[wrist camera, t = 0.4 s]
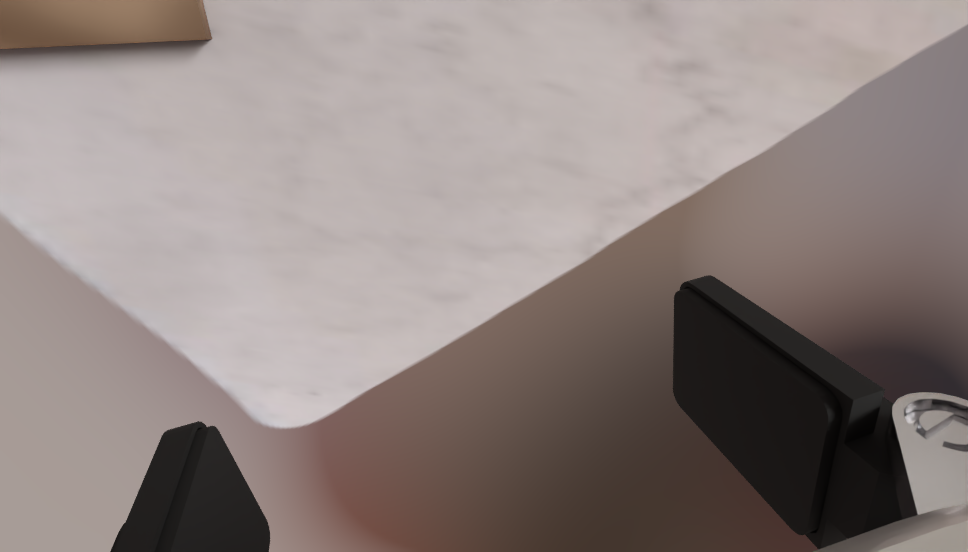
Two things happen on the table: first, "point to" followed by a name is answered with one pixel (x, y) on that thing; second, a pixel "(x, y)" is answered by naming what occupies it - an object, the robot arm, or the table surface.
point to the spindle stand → (99, 22)
